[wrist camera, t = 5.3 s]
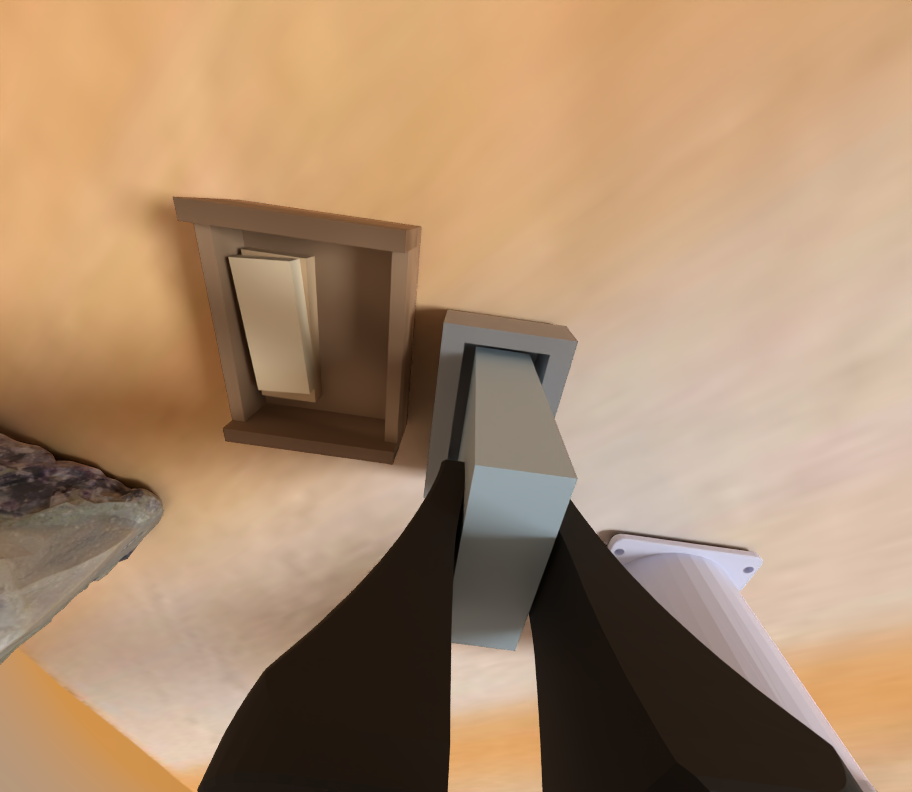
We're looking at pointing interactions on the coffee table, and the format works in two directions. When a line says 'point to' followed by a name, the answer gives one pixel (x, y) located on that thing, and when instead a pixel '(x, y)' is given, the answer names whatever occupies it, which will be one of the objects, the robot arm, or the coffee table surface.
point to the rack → (339, 323)
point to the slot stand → (458, 345)
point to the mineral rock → (59, 534)
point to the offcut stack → (280, 321)
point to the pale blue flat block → (506, 499)
